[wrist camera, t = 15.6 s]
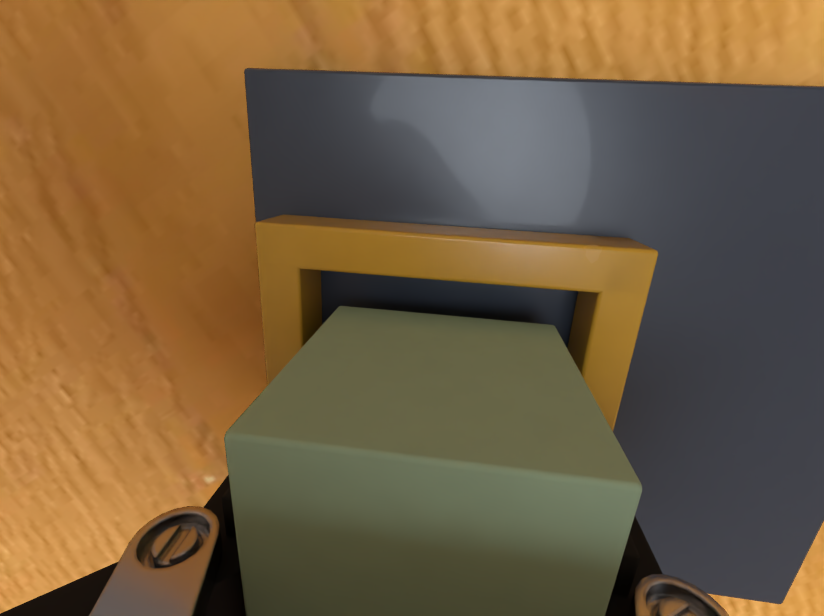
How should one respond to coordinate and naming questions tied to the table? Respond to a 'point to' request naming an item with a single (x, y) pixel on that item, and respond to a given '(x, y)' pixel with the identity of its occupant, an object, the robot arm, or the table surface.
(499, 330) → the sage green block
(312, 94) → the backing plate
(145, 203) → the table surface
